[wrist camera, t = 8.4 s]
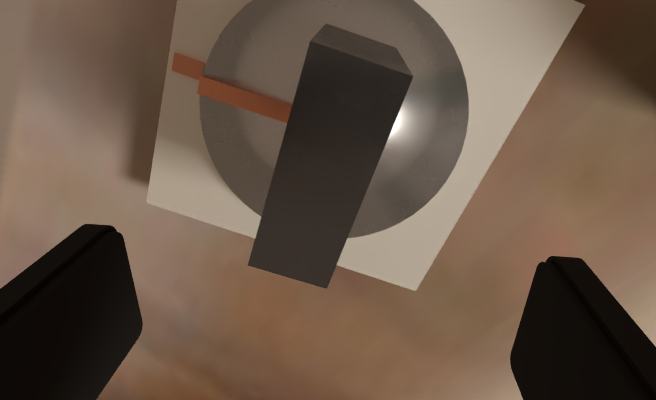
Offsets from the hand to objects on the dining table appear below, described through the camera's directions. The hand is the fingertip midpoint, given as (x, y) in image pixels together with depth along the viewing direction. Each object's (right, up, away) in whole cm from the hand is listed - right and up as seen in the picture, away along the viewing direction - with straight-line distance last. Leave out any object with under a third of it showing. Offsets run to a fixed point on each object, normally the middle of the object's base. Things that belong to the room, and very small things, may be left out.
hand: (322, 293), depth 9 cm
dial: (0, +6, +10) cm, 11 cm away
